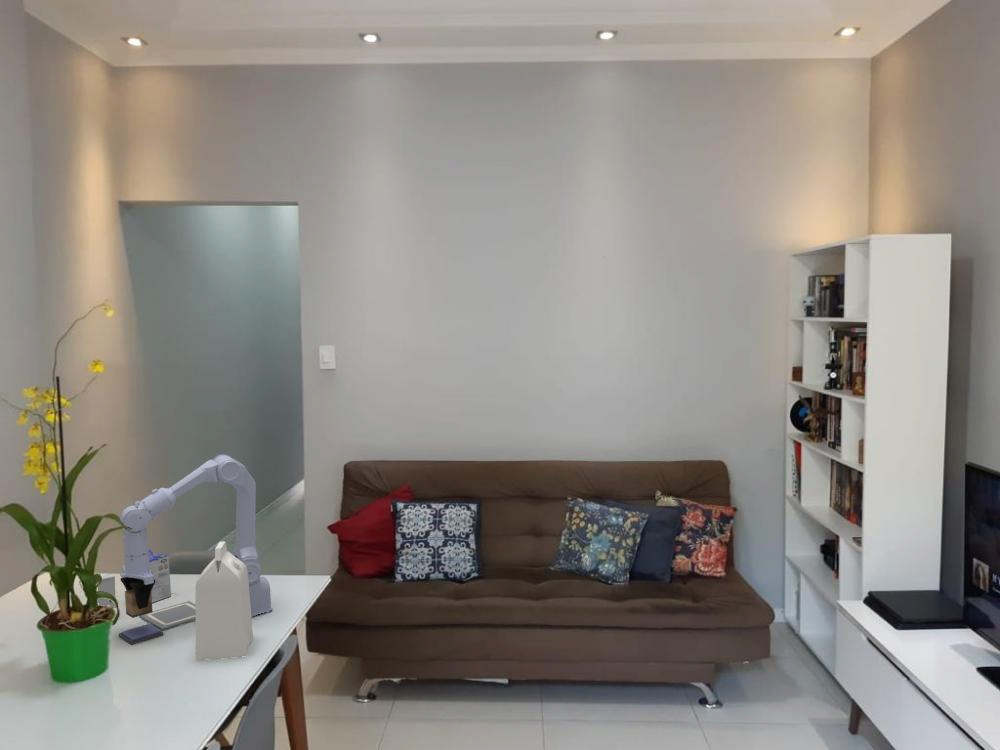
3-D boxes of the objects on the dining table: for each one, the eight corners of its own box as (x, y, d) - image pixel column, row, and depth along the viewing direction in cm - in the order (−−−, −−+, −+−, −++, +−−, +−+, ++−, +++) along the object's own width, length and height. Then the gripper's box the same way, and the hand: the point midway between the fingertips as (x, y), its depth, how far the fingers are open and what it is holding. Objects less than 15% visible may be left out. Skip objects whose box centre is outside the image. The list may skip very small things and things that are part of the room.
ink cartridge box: (160, 593, 234) (158, 545, 233) (172, 596, 231) (169, 547, 230) (129, 603, 226) (127, 554, 225) (141, 607, 223) (138, 557, 222)
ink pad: (149, 627, 209) (149, 622, 209) (163, 635, 203) (163, 630, 203) (118, 636, 203) (118, 632, 203) (131, 645, 197) (131, 640, 197)
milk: (205, 640, 199) (200, 539, 197) (253, 636, 201) (248, 536, 199) (195, 661, 188) (190, 553, 186) (245, 656, 189) (241, 550, 187)
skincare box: (92, 625, 211) (89, 580, 210) (90, 619, 215) (87, 576, 214) (117, 619, 214) (115, 576, 213) (115, 614, 218) (112, 571, 217)
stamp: (145, 608, 206) (144, 585, 205) (152, 612, 203) (151, 589, 202) (126, 614, 202) (124, 591, 202) (132, 617, 199) (131, 594, 199)
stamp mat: (189, 603, 226) (189, 600, 226) (212, 615, 216) (212, 612, 216) (139, 617, 215) (139, 614, 215) (162, 630, 206) (161, 628, 206)
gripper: (108, 551, 203) (111, 603, 204) (132, 563, 193) (135, 617, 194) (136, 545, 208) (139, 595, 210) (160, 556, 199) (163, 608, 200)
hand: (139, 605), depth 202 cm, fingers closed on stamp, 4 cm apart
